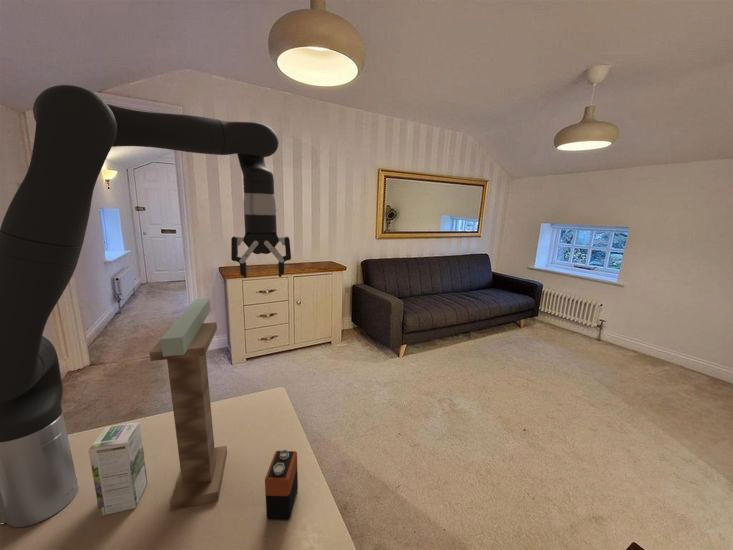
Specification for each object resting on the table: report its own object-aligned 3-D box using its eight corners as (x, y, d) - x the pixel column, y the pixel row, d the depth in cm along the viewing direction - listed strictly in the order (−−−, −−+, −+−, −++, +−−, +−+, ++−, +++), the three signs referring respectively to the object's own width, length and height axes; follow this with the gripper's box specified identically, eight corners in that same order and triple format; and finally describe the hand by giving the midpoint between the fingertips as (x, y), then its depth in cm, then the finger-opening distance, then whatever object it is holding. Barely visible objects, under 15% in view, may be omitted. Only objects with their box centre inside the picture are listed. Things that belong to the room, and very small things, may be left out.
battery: (265, 521, 55) (263, 475, 52) (277, 487, 61) (275, 445, 59) (289, 522, 55) (288, 476, 52) (298, 488, 61) (297, 446, 59)
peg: (162, 356, 48) (160, 339, 47) (196, 311, 68) (194, 299, 68) (184, 354, 49) (182, 337, 48) (210, 310, 69) (209, 298, 69)
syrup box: (114, 489, 60) (103, 426, 57) (149, 482, 61) (140, 420, 58) (99, 517, 54) (85, 449, 51) (137, 508, 56) (126, 442, 53)
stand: (171, 511, 56) (149, 352, 49) (188, 460, 67) (172, 325, 60) (218, 500, 58) (204, 347, 51) (227, 452, 69) (216, 322, 63)
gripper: (226, 212, 69) (231, 281, 72) (290, 214, 73) (292, 279, 76) (231, 212, 76) (235, 274, 79) (289, 213, 80) (290, 273, 83)
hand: (263, 276), depth 78 cm, fingers open, 8 cm apart
